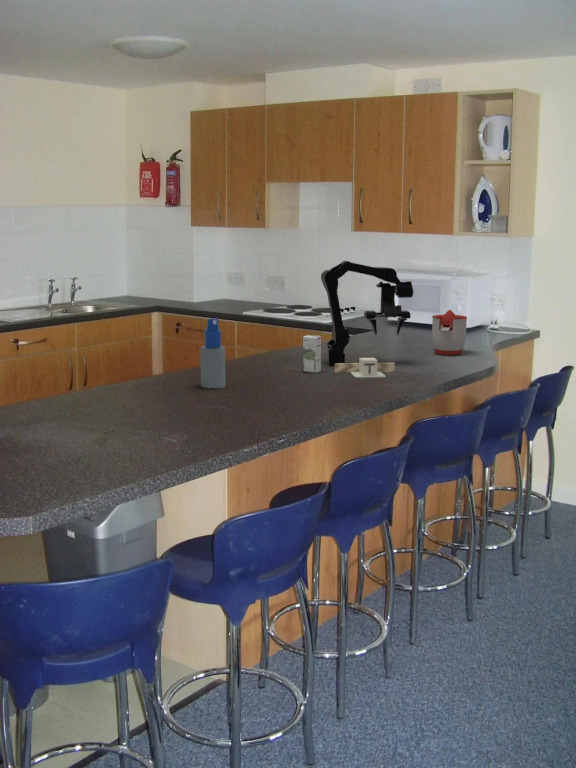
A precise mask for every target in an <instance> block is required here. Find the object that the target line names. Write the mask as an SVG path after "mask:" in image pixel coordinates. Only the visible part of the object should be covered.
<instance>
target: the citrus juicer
mask: <svg viewBox="0 0 576 768" xmlns="http://www.w3.org/2000/svg"><path fill="white" fill-rule="evenodd" d="M431 318H432V325H431V327H432V328H431V329H432V330H431V341H432V346H433V351H434V353H435V354H437V355H441V356H442V355H445V356H453V357H456V356H458V355H461V354H462V353H463V351H464V347H465V345H466V340H467V339H466V338H467V322H468V321H467V319H468V316H467V315H466V316H465V315H461V314H455V313H454V311H452V310H451V309H448V310H447V311H446V312H445V313H444V314H433V315H432V316H431Z"/></svg>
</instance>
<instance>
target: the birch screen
mask: <svg viewBox="0 0 576 768" xmlns="http://www.w3.org/2000/svg"><path fill="white" fill-rule="evenodd" d="M395 364H396V363H395V362H377V372H381V373H395ZM351 372H359V362H348V363H347V362H345V363H335V366H334V374H335V373H336V374H338V373H339V374H340V373H345V374H346V373H351Z"/></svg>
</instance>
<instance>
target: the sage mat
mask: <svg viewBox="0 0 576 768" xmlns="http://www.w3.org/2000/svg"><path fill="white" fill-rule="evenodd" d="M350 374H351V375H352V376H353V377H354V378H356V379H358V378H359V379H360V378H363V379H365V378H366V379H367V378H387V376H386V375H385V374H384V372H377V375H373V376H362V375H361V374H360V373H359V372H350Z"/></svg>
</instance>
